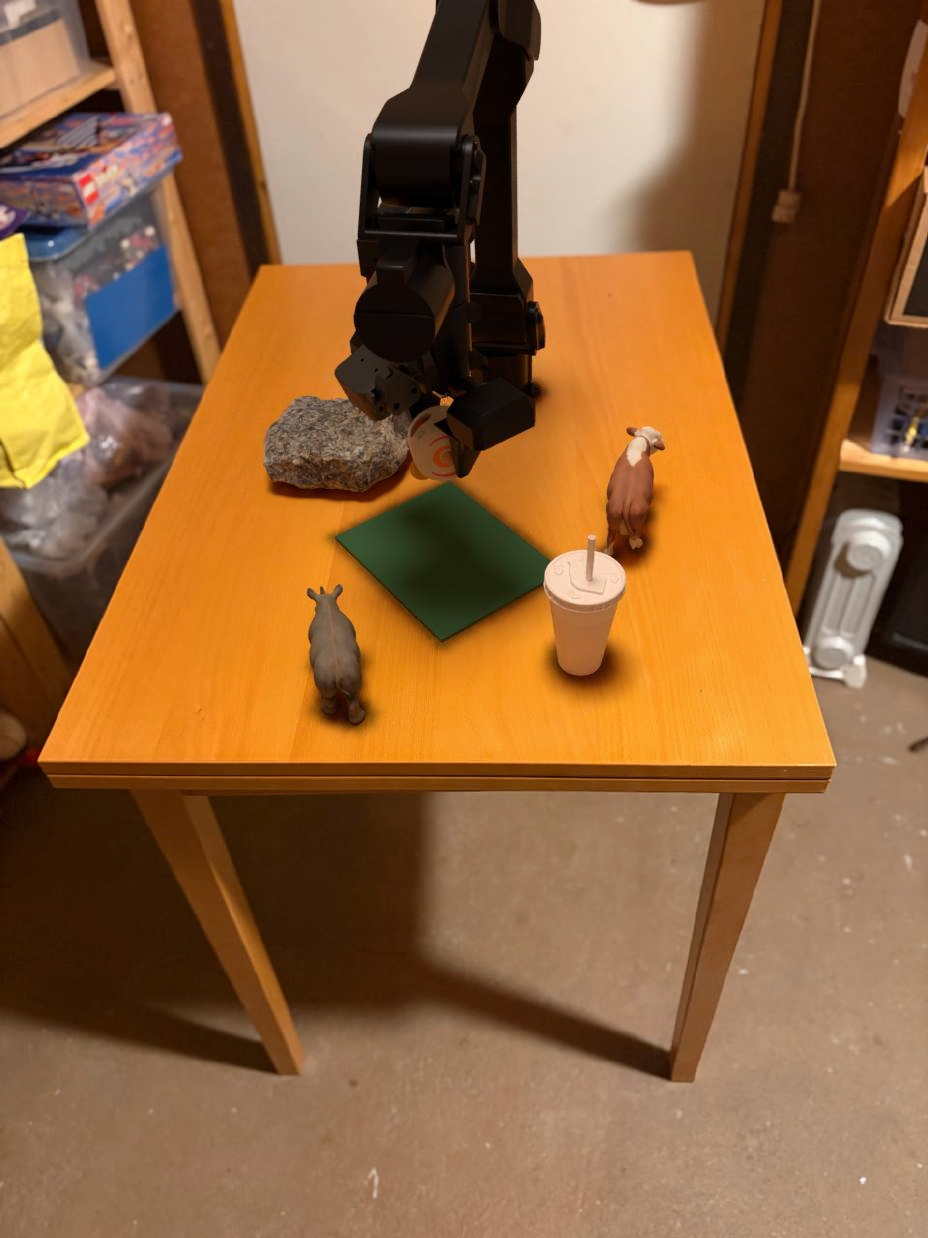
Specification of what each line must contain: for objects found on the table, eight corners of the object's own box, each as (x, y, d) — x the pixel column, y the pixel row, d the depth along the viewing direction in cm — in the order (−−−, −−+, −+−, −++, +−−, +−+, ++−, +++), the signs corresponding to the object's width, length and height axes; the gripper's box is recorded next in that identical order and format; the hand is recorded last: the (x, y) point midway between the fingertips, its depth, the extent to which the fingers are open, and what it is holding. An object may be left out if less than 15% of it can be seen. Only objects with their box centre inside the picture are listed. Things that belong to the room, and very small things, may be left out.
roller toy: (485, 479, 82) (483, 424, 78) (414, 492, 81) (409, 437, 77) (472, 451, 85) (470, 396, 81) (405, 463, 84) (398, 408, 80)
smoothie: (567, 699, 76) (574, 573, 66) (527, 648, 80) (528, 523, 70) (632, 669, 78) (648, 543, 68) (590, 622, 82) (600, 496, 72)
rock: (256, 495, 97) (396, 510, 95) (244, 445, 92) (391, 460, 90) (294, 424, 105) (423, 436, 103) (285, 374, 101) (419, 387, 98)
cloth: (449, 482, 97) (449, 480, 97) (563, 573, 86) (563, 570, 86) (335, 538, 91) (334, 536, 91) (441, 642, 81) (441, 640, 81)
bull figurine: (664, 486, 95) (673, 418, 89) (636, 572, 86) (645, 503, 80) (621, 479, 96) (628, 411, 90) (590, 563, 87) (595, 494, 81)
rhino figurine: (351, 606, 85) (342, 556, 80) (373, 721, 75) (364, 673, 71) (306, 614, 84) (295, 564, 80) (322, 731, 75) (310, 683, 70)
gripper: (281, 285, 73) (313, 449, 85) (414, 380, 63) (431, 554, 74) (398, 244, 78) (413, 404, 89) (541, 326, 67) (539, 498, 78)
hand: (444, 461), depth 82 cm, fingers closed on roller toy, 5 cm apart
